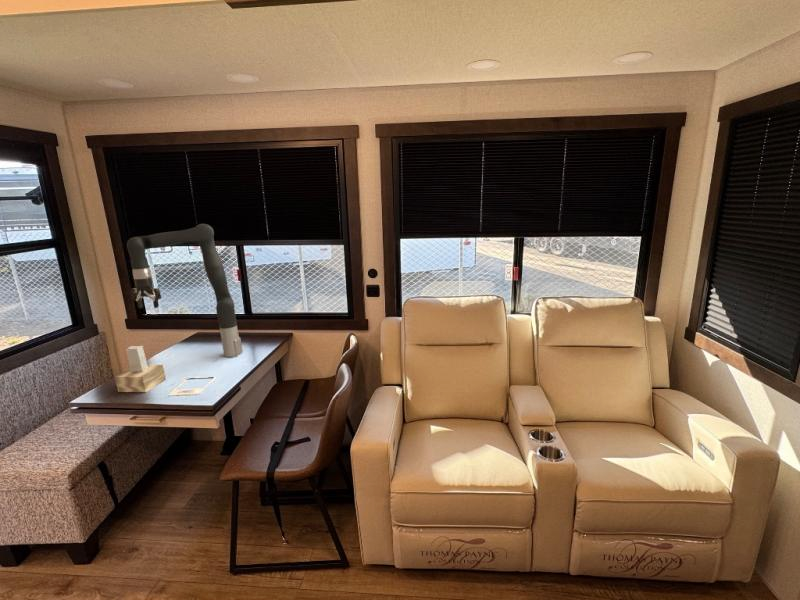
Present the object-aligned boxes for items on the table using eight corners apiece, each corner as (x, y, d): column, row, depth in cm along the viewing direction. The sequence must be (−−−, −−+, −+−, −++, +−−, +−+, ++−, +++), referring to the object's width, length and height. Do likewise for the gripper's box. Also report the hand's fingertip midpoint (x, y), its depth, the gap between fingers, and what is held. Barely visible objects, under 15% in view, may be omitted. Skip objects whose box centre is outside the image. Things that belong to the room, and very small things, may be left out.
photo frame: (167, 394, 179) (186, 377, 196) (168, 397, 179) (186, 379, 197) (200, 393, 180) (215, 376, 197) (200, 395, 180) (216, 378, 197)
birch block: (165, 379, 197) (162, 364, 195) (145, 392, 183) (142, 377, 181) (140, 379, 198) (136, 364, 196) (118, 392, 185) (114, 377, 183)
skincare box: (148, 368, 191) (143, 345, 188) (142, 372, 186) (137, 348, 183) (136, 368, 191) (131, 345, 188) (130, 372, 187) (124, 349, 184)
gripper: (160, 275, 201) (166, 305, 205) (135, 275, 202) (141, 306, 206) (150, 278, 194) (156, 309, 198) (123, 278, 195) (130, 309, 199)
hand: (148, 307), depth 202 cm, fingers open, 8 cm apart
